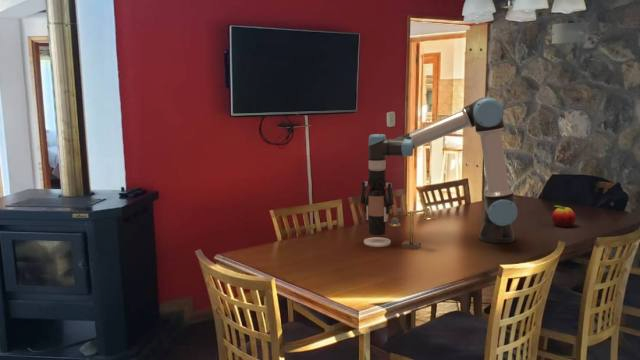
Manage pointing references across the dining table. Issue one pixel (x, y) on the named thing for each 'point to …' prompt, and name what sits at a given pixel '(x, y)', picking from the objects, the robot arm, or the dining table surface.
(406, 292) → the dining table surface
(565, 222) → the fruit
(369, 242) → the cream round disc
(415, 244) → the balance
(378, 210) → the travel mug
